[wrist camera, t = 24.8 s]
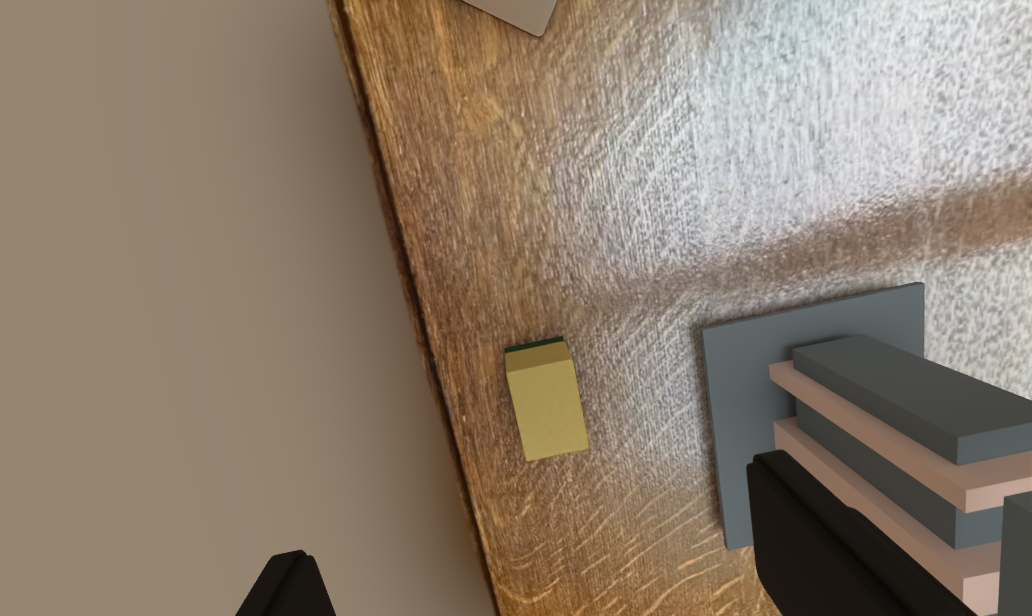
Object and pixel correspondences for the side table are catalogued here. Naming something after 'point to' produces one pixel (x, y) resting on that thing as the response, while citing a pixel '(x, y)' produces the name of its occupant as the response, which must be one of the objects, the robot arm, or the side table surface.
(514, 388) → the sponge
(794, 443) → the desk lamp
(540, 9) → the medicine bottle
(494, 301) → the side table surface
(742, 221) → the side table surface
